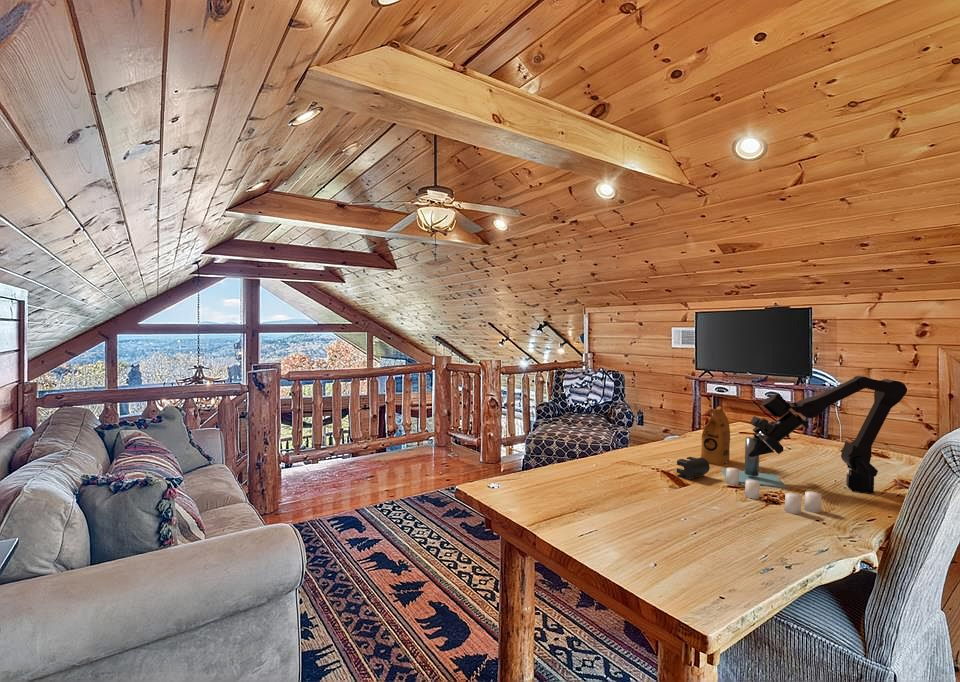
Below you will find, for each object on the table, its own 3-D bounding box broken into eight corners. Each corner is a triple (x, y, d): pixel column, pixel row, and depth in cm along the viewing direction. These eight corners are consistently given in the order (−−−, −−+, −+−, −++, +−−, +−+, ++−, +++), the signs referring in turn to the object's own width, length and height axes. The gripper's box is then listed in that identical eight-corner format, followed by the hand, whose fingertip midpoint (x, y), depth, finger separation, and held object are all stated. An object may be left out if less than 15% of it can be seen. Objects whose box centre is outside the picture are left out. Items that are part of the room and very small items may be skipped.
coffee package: (696, 461, 190) (698, 407, 190) (708, 455, 199) (709, 404, 198) (722, 466, 183) (724, 411, 182) (733, 460, 192) (735, 407, 191)
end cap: (693, 482, 164) (694, 463, 164) (675, 476, 170) (676, 458, 170) (709, 477, 170) (710, 459, 170) (691, 472, 176) (692, 454, 176)
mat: (774, 475, 173) (774, 474, 173) (786, 488, 160) (786, 486, 160) (720, 470, 178) (721, 468, 178) (728, 481, 165) (728, 480, 165)
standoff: (760, 474, 168) (762, 439, 168) (755, 476, 166) (756, 440, 165) (748, 471, 172) (749, 436, 172) (742, 473, 169) (743, 438, 169)
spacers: (750, 480, 167) (750, 466, 167) (824, 512, 139) (824, 495, 139) (715, 482, 165) (716, 468, 164) (783, 515, 136) (784, 498, 136)
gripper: (759, 405, 176) (726, 432, 180) (773, 414, 158) (736, 443, 162) (782, 427, 174) (748, 454, 177) (799, 439, 156) (761, 468, 160)
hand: (747, 454), depth 169 cm, fingers closed on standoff, 4 cm apart
